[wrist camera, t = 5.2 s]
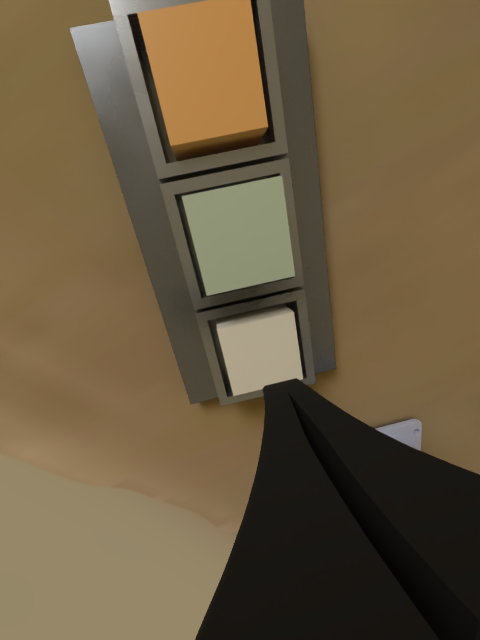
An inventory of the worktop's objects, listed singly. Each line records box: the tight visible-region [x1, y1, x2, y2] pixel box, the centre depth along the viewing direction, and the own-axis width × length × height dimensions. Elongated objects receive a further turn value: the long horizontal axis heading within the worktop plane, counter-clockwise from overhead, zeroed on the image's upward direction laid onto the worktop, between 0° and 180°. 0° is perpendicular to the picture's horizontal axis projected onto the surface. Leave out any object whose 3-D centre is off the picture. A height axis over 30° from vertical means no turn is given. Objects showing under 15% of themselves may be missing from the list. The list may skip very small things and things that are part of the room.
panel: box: [70, 0, 336, 406], centre depth 13 cm, size 19×10×3 cm, turn 12°
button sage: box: [182, 176, 295, 296], centre depth 11 cm, size 4×4×2 cm
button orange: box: [137, 0, 268, 161], centre depth 10 cm, size 4×4×2 cm
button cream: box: [216, 303, 303, 396], centre depth 14 cm, size 4×4×2 cm
